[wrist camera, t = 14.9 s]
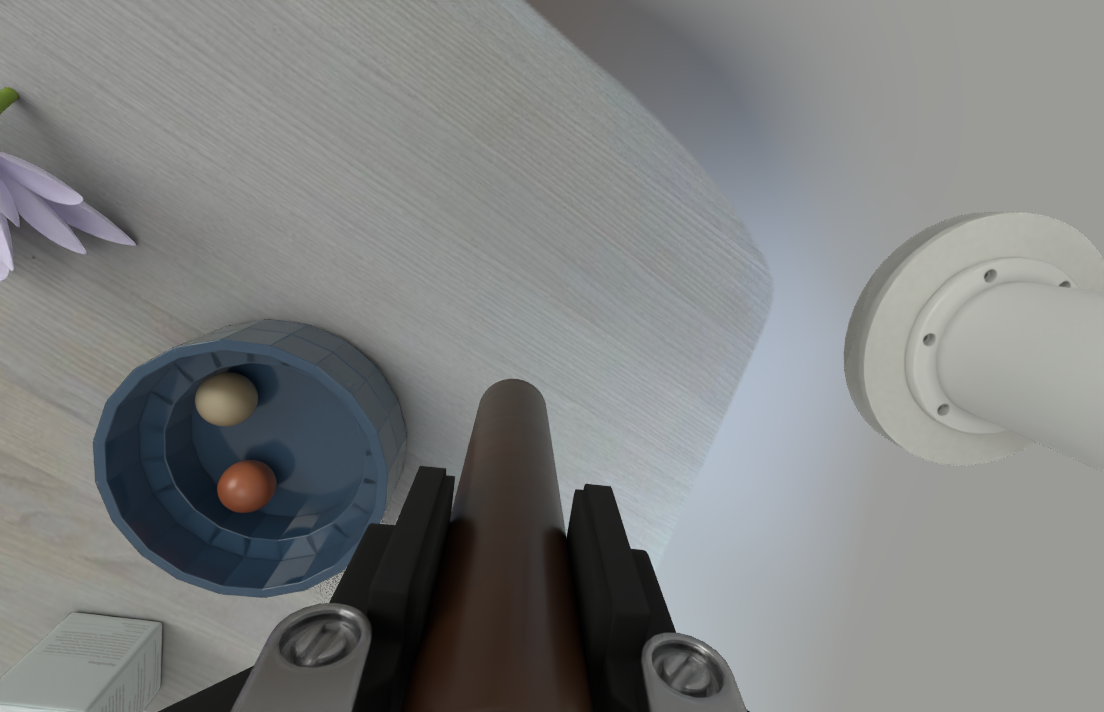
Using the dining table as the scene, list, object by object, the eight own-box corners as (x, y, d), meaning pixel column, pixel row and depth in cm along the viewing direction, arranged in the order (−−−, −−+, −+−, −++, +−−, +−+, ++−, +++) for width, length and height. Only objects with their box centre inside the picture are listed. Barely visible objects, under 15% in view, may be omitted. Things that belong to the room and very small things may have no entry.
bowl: (417, 336, 34) (397, 361, 28) (397, 547, 38) (376, 607, 32) (161, 302, 33) (85, 321, 27) (166, 525, 36) (100, 584, 31)
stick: (551, 383, 21) (624, 721, 6) (540, 447, 21) (585, 901, 7) (483, 373, 21) (389, 701, 6) (474, 438, 21) (367, 889, 6)
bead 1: (223, 437, 33) (237, 390, 35) (263, 429, 32) (275, 380, 34) (174, 419, 31) (191, 369, 32) (215, 409, 30) (230, 357, 31)
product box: (72, 608, 37) (-31, 700, 30) (166, 619, 38) (87, 713, 31) (72, 679, 39) (-27, 784, 32) (162, 690, 40) (86, 793, 33)
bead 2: (215, 527, 33) (247, 503, 36) (265, 516, 32) (293, 493, 35) (197, 478, 32) (231, 458, 35) (247, 466, 32) (277, 447, 35)
